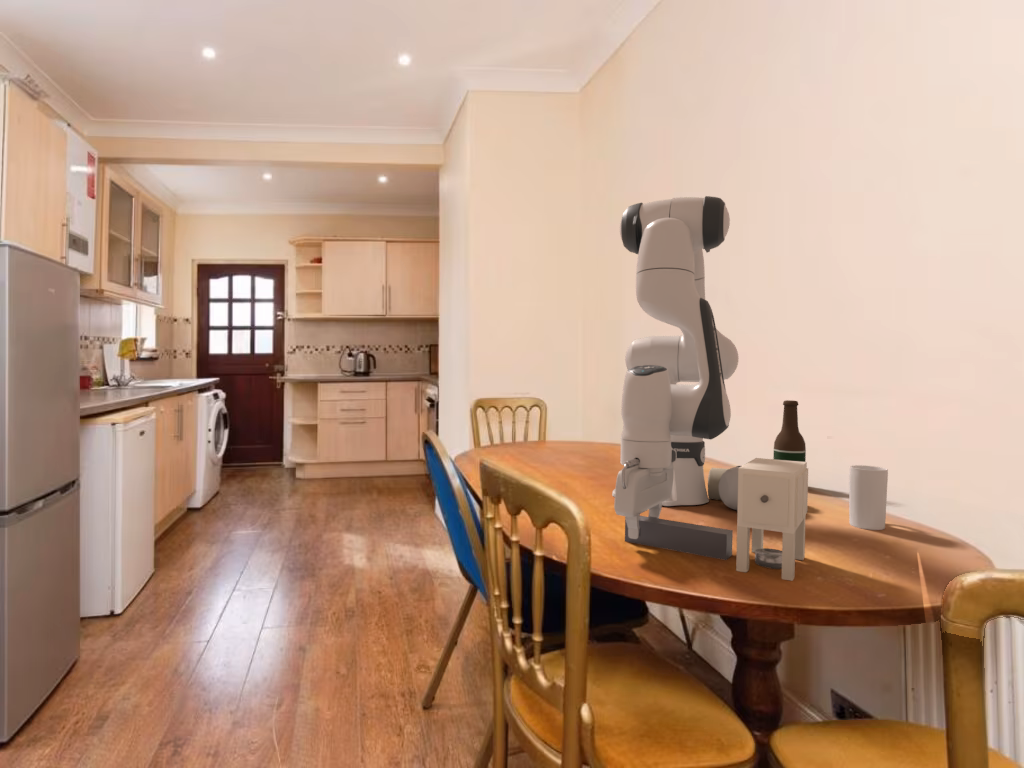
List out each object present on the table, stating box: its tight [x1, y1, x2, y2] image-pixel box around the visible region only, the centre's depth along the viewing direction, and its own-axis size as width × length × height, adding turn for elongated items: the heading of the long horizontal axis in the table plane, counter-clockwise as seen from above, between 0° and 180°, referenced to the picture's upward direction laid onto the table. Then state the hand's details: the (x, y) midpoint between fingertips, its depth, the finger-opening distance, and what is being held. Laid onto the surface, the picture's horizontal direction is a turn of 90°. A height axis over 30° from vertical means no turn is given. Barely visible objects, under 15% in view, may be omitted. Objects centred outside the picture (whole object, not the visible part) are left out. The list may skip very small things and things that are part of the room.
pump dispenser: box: [719, 465, 742, 511], centre depth 135 cm, size 10×10×15 cm
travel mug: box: [707, 467, 729, 501], centre depth 143 cm, size 8×8×18 cm
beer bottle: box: [772, 399, 807, 462], centre depth 160 cm, size 8×8×24 cm
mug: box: [848, 464, 889, 531], centre depth 124 cm, size 10×7×12 cm, turn 150°
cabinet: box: [735, 457, 809, 582], centre depth 97 cm, size 8×15×16 cm, turn 148°
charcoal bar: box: [624, 515, 734, 561], centre depth 106 cm, size 18×4×4 cm, turn 55°
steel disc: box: [754, 547, 782, 570], centre depth 97 cm, size 5×5×2 cm
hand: (643, 532), depth 109 cm, fingers open, 8 cm apart
